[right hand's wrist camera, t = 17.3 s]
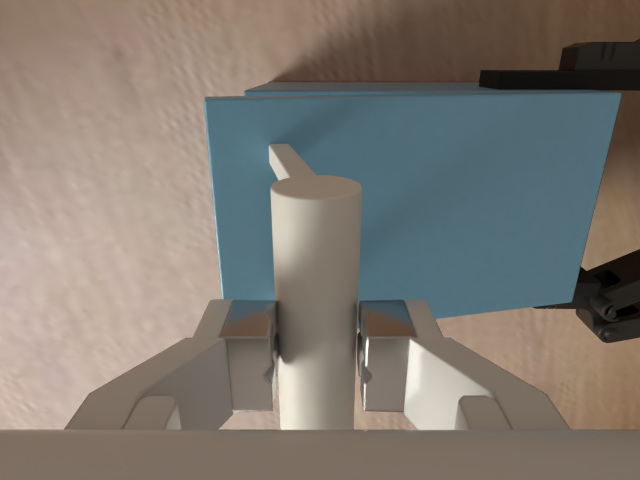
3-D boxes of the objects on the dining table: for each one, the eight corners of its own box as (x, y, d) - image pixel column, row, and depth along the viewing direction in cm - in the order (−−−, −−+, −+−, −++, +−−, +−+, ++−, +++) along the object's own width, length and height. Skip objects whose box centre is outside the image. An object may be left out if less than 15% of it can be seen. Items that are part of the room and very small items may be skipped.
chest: (275, 225, 30) (255, 288, 22) (270, 81, 27) (243, 90, 18) (493, 226, 30) (558, 291, 22) (515, 81, 27) (604, 90, 18)
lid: (225, 330, 18) (232, 513, 11) (204, 96, 15) (192, 131, 7) (556, 291, 21) (737, 413, 14) (601, 90, 18) (872, 111, 11)
